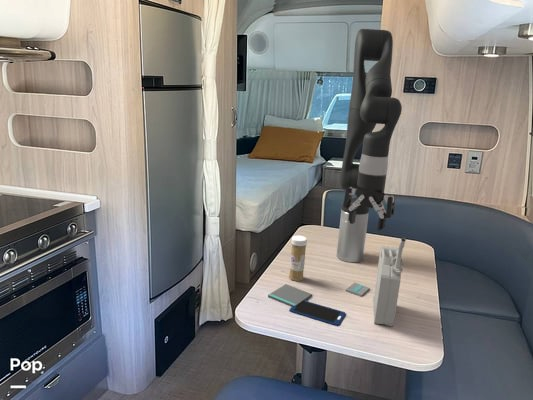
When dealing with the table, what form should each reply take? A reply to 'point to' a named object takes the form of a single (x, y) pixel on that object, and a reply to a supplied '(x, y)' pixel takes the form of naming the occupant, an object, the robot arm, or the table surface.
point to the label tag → (357, 289)
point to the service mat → (289, 295)
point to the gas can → (388, 284)
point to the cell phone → (319, 312)
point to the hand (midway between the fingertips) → (365, 226)
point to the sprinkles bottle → (297, 258)
